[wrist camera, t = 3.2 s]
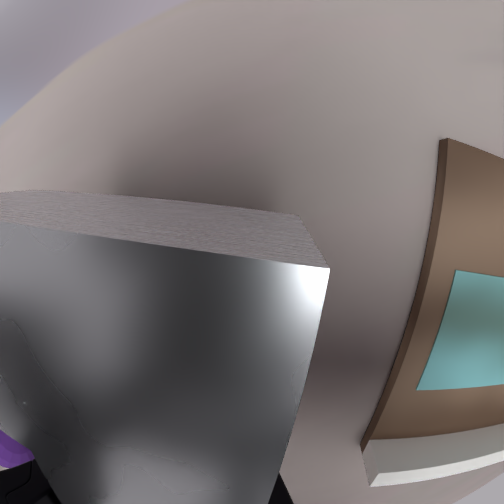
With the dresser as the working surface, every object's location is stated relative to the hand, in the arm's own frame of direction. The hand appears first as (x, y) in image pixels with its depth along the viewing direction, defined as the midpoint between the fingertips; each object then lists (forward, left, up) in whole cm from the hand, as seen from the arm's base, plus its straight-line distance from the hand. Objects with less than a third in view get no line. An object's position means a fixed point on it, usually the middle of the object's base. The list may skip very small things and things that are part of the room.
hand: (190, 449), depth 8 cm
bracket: (+2, +2, -1) cm, 3 cm away
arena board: (+3, -16, -6) cm, 17 cm away
